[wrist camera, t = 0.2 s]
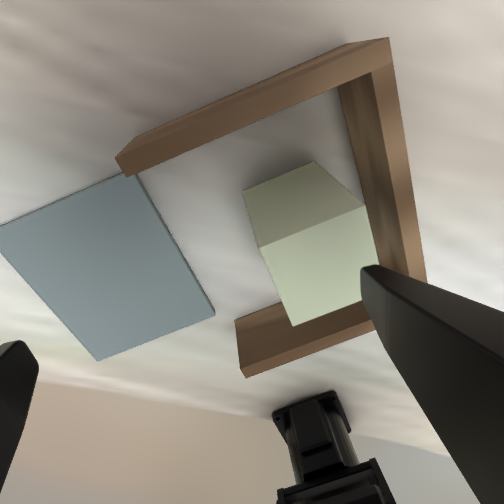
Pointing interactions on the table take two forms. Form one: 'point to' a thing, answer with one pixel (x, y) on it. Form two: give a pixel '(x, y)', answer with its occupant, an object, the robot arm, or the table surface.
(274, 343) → the open frame
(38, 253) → the mat
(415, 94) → the table surface
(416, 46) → the table surface
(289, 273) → the block
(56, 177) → the table surface
